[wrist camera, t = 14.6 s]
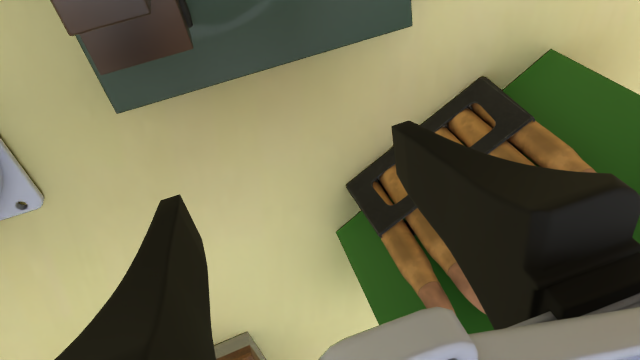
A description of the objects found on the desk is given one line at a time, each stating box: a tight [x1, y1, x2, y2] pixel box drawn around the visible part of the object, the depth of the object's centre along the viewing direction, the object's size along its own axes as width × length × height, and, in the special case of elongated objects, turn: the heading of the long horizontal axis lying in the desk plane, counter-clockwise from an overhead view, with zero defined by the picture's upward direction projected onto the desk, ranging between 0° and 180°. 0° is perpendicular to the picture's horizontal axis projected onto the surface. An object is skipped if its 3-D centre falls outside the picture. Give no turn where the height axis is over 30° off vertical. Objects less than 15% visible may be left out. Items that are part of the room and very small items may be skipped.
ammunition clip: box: [346, 77, 597, 315], centre depth 25 cm, size 11×2×12 cm, turn 127°
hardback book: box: [336, 49, 640, 334], centre depth 23 cm, size 18×7×24 cm, turn 130°
